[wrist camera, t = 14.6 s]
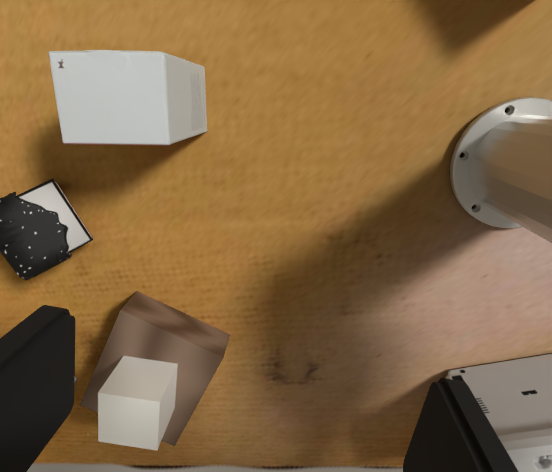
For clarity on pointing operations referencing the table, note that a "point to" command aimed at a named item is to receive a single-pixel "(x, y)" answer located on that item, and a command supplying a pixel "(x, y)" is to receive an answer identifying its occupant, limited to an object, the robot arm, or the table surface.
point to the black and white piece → (39, 229)
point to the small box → (128, 97)
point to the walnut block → (162, 353)
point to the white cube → (137, 403)
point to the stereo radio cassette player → (516, 406)
